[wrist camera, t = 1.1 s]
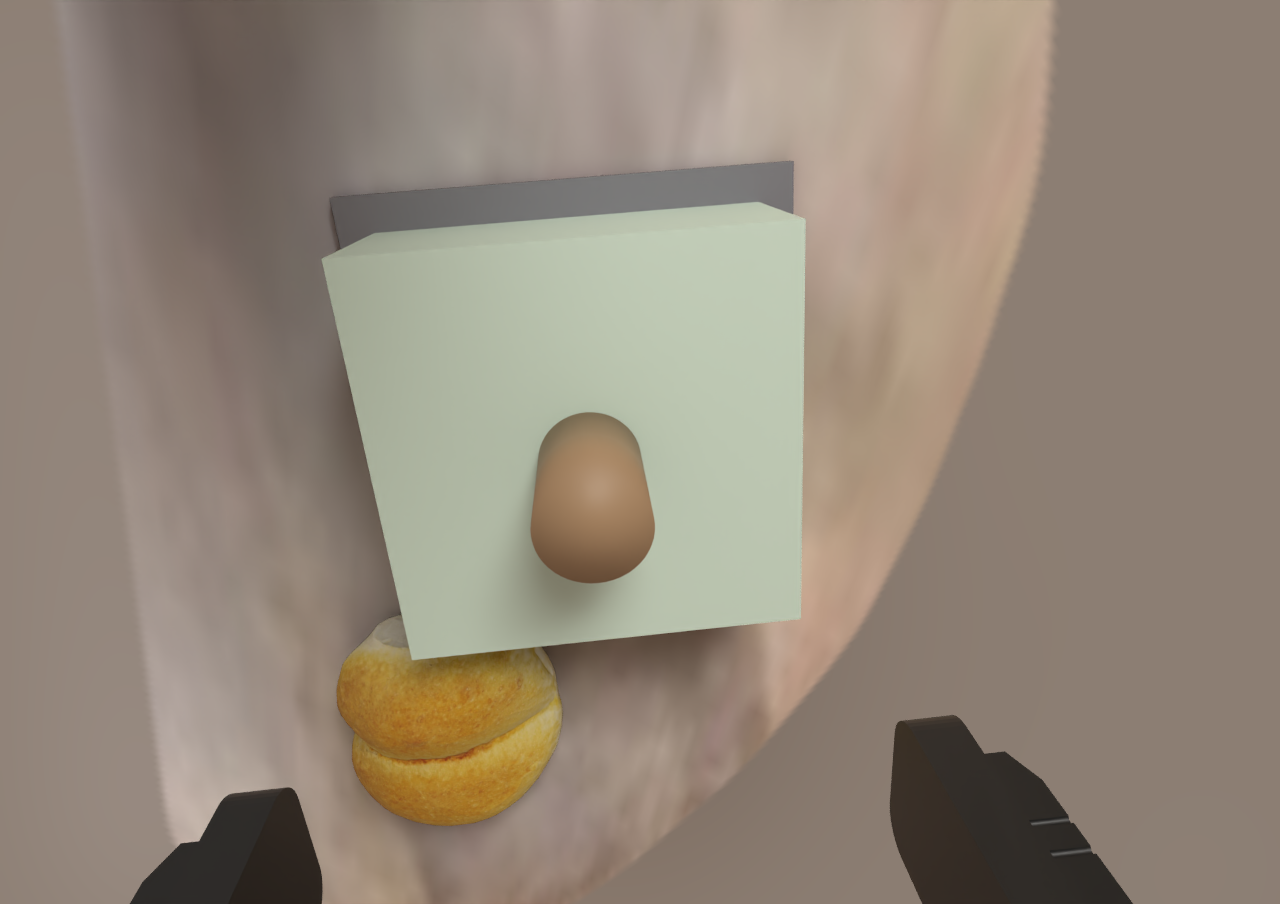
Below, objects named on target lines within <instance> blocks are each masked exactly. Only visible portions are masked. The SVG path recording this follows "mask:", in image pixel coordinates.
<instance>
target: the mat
mask: <svg viewBox="0 0 1280 904" xmlns="http://www.w3.org/2000/svg"><path fill="white" fill-rule="evenodd" d="M793 171H794V161H782V162H769V163H757V164H744V165H731V166H719V167H706V168H694V169H681V170H668V171H656V172H643V173H630V174H618V175H605V176H592V177H580V178H567V179H554V180H542V181H529V182H517V183H504V184H491V185H479V186H466V187H453V188H441V189H428V190H415V191H403V192H390V193H377V194H365V195H352V196H339V197H331V198H330V202H331V207H332V212H333V216H334V221H335V226H336V230H337V235H338V240H339V244H340V249H343V248H345V247H347V246H349V245H351V244H353V243H355V242H357V241H359V240H361V239H363V238H365V237H367V236H369V235H371V234H373V233H381V232H393V231H406V230H418V229H430V228H442V227H455V226H467V225H479V224H492V223H504V222H516V221H528V220H541V219H553V218H565V217H578V216H590V215H602V214H615V213H627V212H639V211H651V210H664V209H676V208H688V207H701V206H713V205H725V204H737V203H750V202H760V203H763V204H766V205H769V206H771V207H774V208H777V209H780V210H782V211H785V212H788V213H791V214H793Z"/></svg>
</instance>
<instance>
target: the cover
mask: <svg viewBox="0 0 1280 904" xmlns="http://www.w3.org/2000/svg"><path fill="white" fill-rule="evenodd" d="M805 222H806V219H804V218H802V217H799V216H796V215H793V214H791V213H788V212H785V211H782V210H780V209H777V208H774V207H771V206H769V205H766V204H763V203H760V202H750V203H737V204H725V205H713V206H701V207H688V208H676V209H664V210H651V211H639V212H627V213H615V214H602V215H590V216H578V217H565V218H553V219H541V220H528V221H516V222H504V223H492V224H479V225H467V226H455V227H442V228H430V229H418V230H406V231H393V232H381V233H373V234H371V235H369V236H367V237H365V238H363V239H361V240H359V241H357V242H355V243H353V244H351V245H349V246H347V247H345V248H343V249H341V250H339V251H337V252H335V253H332V254H330V255H328V256H326V257H324V258H322V259H321V260H322V264H323V269H324V273H325V277H326V282H327V286H328V291H329V295H330V300H331V304H332V308H333V313H334V317H335V322H336V326H337V331H338V335H339V339H340V344H341V348H342V353H343V357H344V361H345V366H346V370H347V375H348V379H349V384H350V388H351V392H352V397H353V401H354V406H355V410H356V415H357V419H358V423H359V428H360V432H361V437H362V441H363V445H364V450H365V454H366V459H367V463H368V468H369V472H370V476H371V481H372V485H373V490H374V494H375V499H376V503H377V507H378V512H379V516H380V521H381V525H382V530H383V534H384V538H385V543H386V547H387V552H388V556H389V560H390V565H391V569H392V574H393V578H394V583H395V587H396V591H397V596H398V600H399V605H400V609H401V614H402V618H403V622H404V627H405V631H406V636H407V640H408V645H409V649H410V653H411V658H412V660H419V659H428V658H437V657H447V656H456V655H466V654H475V653H484V652H494V651H503V650H513V649H522V648H532V647H541V646H550V645H560V644H569V643H579V642H588V641H597V640H607V639H616V638H626V637H635V636H645V635H654V634H663V633H673V632H682V631H692V630H701V629H711V628H720V627H729V626H739V625H748V624H758V623H767V622H776V621H786V620H795V619H801V558H802V474H803V390H804V306H805Z"/></svg>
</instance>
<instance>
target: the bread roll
mask: <svg viewBox="0 0 1280 904" xmlns="http://www.w3.org/2000/svg"><path fill="white" fill-rule="evenodd" d="M337 705H338V709H339V711H340V713H341V715H342V717H343V718H344V720H345V721H346V723H347V724H348V725H349V726H350V727H351V728H352V729H353V730H354V732H355V734H354V739H353V745H352V762H353V765H354V769H355V772H356V774H357V776H358V778H359V780H360V782H361V783H362V785H363V786H364V787H365V789H366V790H367V791H368V793H369V794H370V795H371V796H372V797H373V798H374V799H375V800H376V801H377V802H378V803H380V804H381V805H382V806H383V807H384V808H385V809H387V810H389V811H390V812H392V813H394V814H396V815H399V816H401V817H404V818H406V819H409V820H412V821H415V822H419V823H425V824H430V825H439V826H454V825H462V824H470V823H476V822H479V821H482V820H485V819H488V818H490V817H492V816H495V815H497V814H498V813H500V812H502V811H503V810H505V809H506V808H508V807H510V806H511V805H512V804H513V803H515V802H516V801H517V800H518V799H520V798H521V797H522V796H523V795H524V794H525V793H526V792H527V791H528V790H529V789H530V787H531V786H532V785H533V783H534V782H535V781H536V780H537V779H538V778H539V776H540V774H541V773H542V771H543V769H544V768H545V766H546V764H547V763H548V761H549V759H550V758H551V756H552V754H553V752H554V750H555V749H556V746H557V744H558V740H559V736H560V732H561V727H562V716H563V710H562V703H561V699H560V696H559V693H558V686H557V681H556V674H555V671H554V668H553V665H552V663H551V662H550V660H549V658H548V656H547V654H546V653H545V651H544V650H543V648H542V647H532V648H522V649H513V650H503V651H494V652H484V653H475V654H466V655H456V656H447V657H437V658H428V659H419V660H412V658H411V653H410V649H409V645H408V640H407V636H406V631H405V627H404V622H403V618H402V615H399V616H395V617H391V618H389V619H387V620H385V621H383V622H382V623H380V624H378V625H377V626H376V628H375V629H374V630H373V632H372V633H371V634H370V635H369V636H368V637H367V638H366V640H365V641H364V642H362V643H361V644H360V645H359V646H358V647H357V648H356V649H355V650H354V651H353V652H352V653H351V654H350V655H349V656H348V657H347V659H346V660H345V662H344V663H343V665H342V669H341V672H340V676H339V680H338V685H337Z"/></svg>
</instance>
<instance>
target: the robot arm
mask: <svg viewBox="0 0 1280 904" xmlns="http://www.w3.org/2000/svg"><path fill="white" fill-rule="evenodd" d="M891 782H892V783H891V795H890V815H891V822H892V828H893V833H894V837H895V841H896V844H897V847H898V850H899V853H900V855H901V858H902V860H903V862H904V864H905V867H906V869H907V871H908V873H909V875H910V878H911V880H912V882H913V884H914V886H915V889H916V891H917V893H918V895H919V897H920V899H921V901H922V904H1133V903H1132V902H1131V900H1130V899H1129V898H1128V896H1127V895H1126V894H1125V892H1124V891H1123V889H1122V888H1121V887H1120V885H1119V884H1118V883H1117V882H1116V880H1115V879H1114V877H1113V876H1112V875H1111V873H1110V872H1109V871H1108V869H1107V868H1106V866H1105V865H1104V864H1103V862H1102V861H1101V859H1100V858H1099V857H1098V856H1097V854H1093V853H1092V851H1091V847H1090V844H1089V843H1088V842H1087V840H1086V839H1085V838H1084V836H1083V835H1082V834H1081V832H1080V831H1079V830H1078V828H1077V827H1076V825H1075V824H1074V823H1070V821H1069V817H1068V814H1067V813H1066V812H1065V810H1064V809H1063V808H1062V806H1061V805H1060V803H1059V802H1058V801H1057V799H1056V798H1055V797H1054V795H1053V794H1052V793H1051V791H1050V790H1049V788H1048V787H1047V786H1046V784H1045V783H1044V782H1043V780H1042V779H1040V778H1039V777H1038V776H1036V775H1035V774H1034V773H1032V772H1031V771H1030V770H1028V769H1027V768H1026V767H1024V766H1023V765H1022V764H1021V763H1019V762H1018V761H1017V760H1015V759H1014V758H1013V757H1011V756H1010V755H1009V754H1007V753H1006V752H997V753H988V754H984V753H983V751H982V750H981V748H980V747H979V745H978V744H977V742H976V741H975V739H974V738H973V736H972V735H971V733H970V732H969V730H968V729H967V727H966V726H965V724H964V723H963V722H962V721H961V720H960V719H959V718H958V717H957V716H954V715H950V716H941V717H932V718H923V719H914V720H905V721H900V722H898V723H897V725H896V729H895V738H894V752H893V766H892V781H891ZM130 904H322V875H321V870H320V866H319V863H318V859H317V856H316V853H315V850H314V847H313V843H312V840H311V837H310V834H309V831H308V828H307V824H306V821H305V818H304V815H303V812H302V809H301V805H300V802H299V799H298V796H297V794H296V793H295V791H294V790H293V789H292V788H279V789H270V790H261V791H252V792H243V793H234V794H230V795H228V796H226V797H225V798H224V799H223V800H222V801H221V803H220V804H219V806H218V808H217V809H216V811H215V813H214V815H213V817H212V819H211V821H210V822H209V824H208V826H207V828H206V830H205V832H204V833H203V835H202V837H201V839H200V841H198V842H190V843H181V844H180V845H179V846H178V847H177V848H176V849H175V850H174V851H173V852H172V853H171V854H170V855H169V856H168V857H167V858H166V859H165V860H164V861H163V862H162V863H161V864H160V865H159V866H158V867H157V868H156V869H155V870H154V871H153V872H152V873H151V874H150V875H149V876H148V877H147V878H146V879H145V880H144V881H143V882H142V884H141V886H140V888H139V889H138V891H137V893H136V894H135V896H134V898H133V899H132V901H131V903H130Z"/></svg>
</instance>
